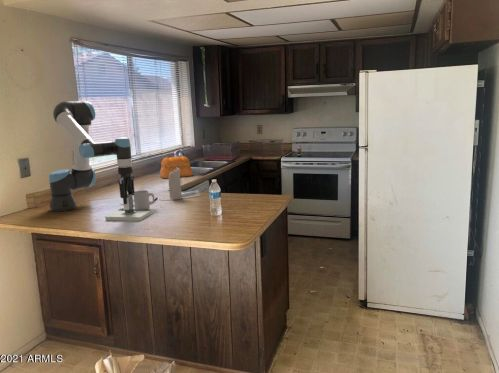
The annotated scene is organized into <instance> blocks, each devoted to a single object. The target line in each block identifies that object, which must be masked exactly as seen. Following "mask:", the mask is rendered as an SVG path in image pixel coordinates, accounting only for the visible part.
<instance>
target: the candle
mask: <svg viewBox="0 0 499 373" xmlns="http://www.w3.org/2000/svg"><path fill="white" fill-rule="evenodd" d="M181 183H182V182H181V177H180V169H179V168H176V170H173V172H171V173H170V174H169V178H168V189H169V192H168V193H169V197H165V198H160V199H159V200H160V201H173V200H176V201H177V200H181V199H182V197H183V196H182V186H181V185H182V184H181Z"/></svg>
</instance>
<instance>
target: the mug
mask: <svg viewBox="0 0 499 373" xmlns="http://www.w3.org/2000/svg"><path fill="white" fill-rule="evenodd" d="M134 192H135V193H133V194H134V195H133V205H134V209H151V207H150V205H154V203H155V198H156V197H155V195H154V193H152V192H149V190H146V189H145V190H134ZM150 196H151V197H152V201H150Z"/></svg>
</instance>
